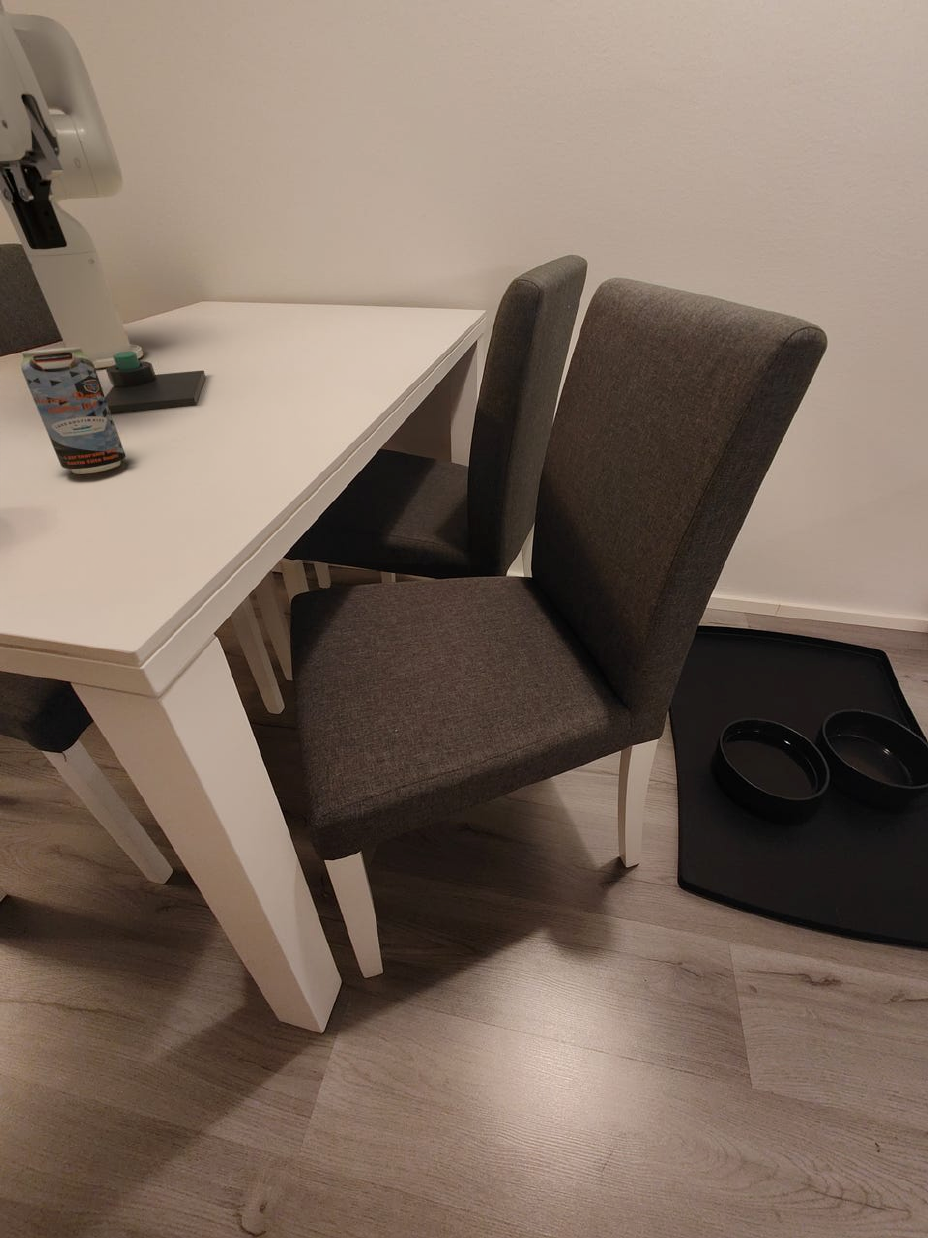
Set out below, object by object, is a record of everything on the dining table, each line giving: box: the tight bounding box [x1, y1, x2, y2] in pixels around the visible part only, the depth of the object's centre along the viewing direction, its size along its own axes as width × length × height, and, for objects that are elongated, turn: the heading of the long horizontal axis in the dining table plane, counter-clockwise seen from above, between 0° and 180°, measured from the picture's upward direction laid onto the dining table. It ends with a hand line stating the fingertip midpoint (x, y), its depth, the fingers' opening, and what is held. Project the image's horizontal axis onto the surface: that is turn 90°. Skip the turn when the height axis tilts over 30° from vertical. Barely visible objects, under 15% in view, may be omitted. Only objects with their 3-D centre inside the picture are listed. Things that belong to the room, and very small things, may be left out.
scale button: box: [113, 352, 141, 370], centre depth 82 cm, size 3×3×2 cm
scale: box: [105, 360, 206, 415], centre depth 80 cm, size 14×12×3 cm
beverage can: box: [20, 347, 126, 475], centre depth 57 cm, size 6×7×12 cm
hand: (49, 247), depth 60 cm, fingers closed
